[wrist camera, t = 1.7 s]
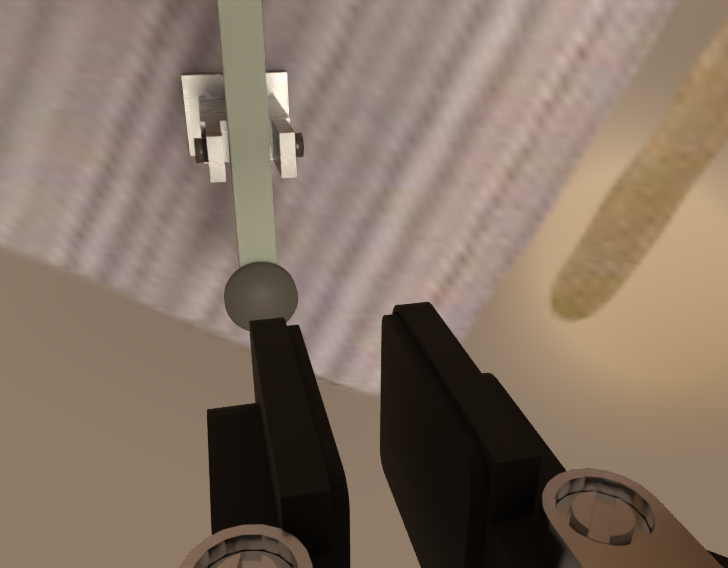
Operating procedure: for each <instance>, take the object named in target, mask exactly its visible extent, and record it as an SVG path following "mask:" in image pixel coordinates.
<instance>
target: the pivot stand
mask: <svg viewBox="0 0 728 568" xmlns="http://www.w3.org/2000/svg"><path fill="white" fill-rule="evenodd" d="M181 77H182V86H183V95H184V104H185V114H186V123H187V132H188V141H189V150H190V156H195V157H196V163H204V164H208V163H209V170H210V180H211V183H214V182H226V173H225V163H226V162H230V151H229V139H228V127H227V115H226V103H225V91H224V79H223V73H198V74H181ZM266 87H267V105H268V122H269V139H270V156H271V160H274V162H275V164H276V166H277V169H278V171H279V173H280V175H281V178H293V177H297V175H296V157H303V154H304V145H303V137H302V133H295V132H294V131H293V129H292V128H291V126H290V117H289V106H288V84H287V72H286V71H266Z"/></svg>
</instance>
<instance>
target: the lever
mask: <svg viewBox="0 0 728 568" xmlns="http://www.w3.org/2000/svg"><path fill="white" fill-rule="evenodd" d="M217 8H218V20H219V32H220V44H221V55H222V67H223V79H224V91H225V103H226V115H227V127H228V139H229V151H230V163H231V175H232V187H233V199H234V210H235V222H236V234H237V246H238V258H239V269H238V270H237V271H235V272H234V273H233V274H232V276H231V277H230V278H229V280H228V282H227V284H226V287H225V292H224V299H225V307H226V311H227V313H228V315H229V317H230V318H231V320H232V321H233V322H234V323H235V324H236V325H238V326H239V327H241V328H243V329H245V330H248V331H250V328H249V321H252V320H261V319H271V318H280V317H284V318H285V321H286V322H287V321H288V320H289V319H290V318H291V317H292V315H293V314H294V312H295V310H296V307H297V303H298V293H297V289H296V286H295V283H294V281H293V279H292V277H291V275H290V274H289V273H288V272H287V271H286V270H285V269H284V268H282V267H281V266H279V265H277V259H276V242H275V225H274V208H273V191H272V173H271V156H270V139H269V122H268V105H267V87H266V70H265V53H264V36H263V19H262V1H261V0H217Z"/></svg>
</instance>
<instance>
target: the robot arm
mask: <svg viewBox="0 0 728 568" xmlns="http://www.w3.org/2000/svg"><path fill="white" fill-rule="evenodd" d="M249 328H250V341H251V354H252V366H253V379H254V390H255V403H253V404H245V405H237V406H230V407H222V408H214V409H207V427H208V450H209V451H208V452H209V476H210V501H211V528H212V536H210V537H208V538H206V539H204V540H203V541H202V542H201V543H200V544H198V545H197V546H196V547H195V548H194V549H192V550H191V551H190V552H189V554H188V555H187V556H186V558H185V559H184V561H183V563H182V564H181V565H180V567H179V568H350V510H349V495H348V488H347V482H346V477H345V473H344V469H343V466H342V462H341V459H340V456H339V453H338V450H337V446H336V443H335V440H334V437H333V433H332V431H331V427H330V424H329V420H328V417H327V414H326V411H325V407H324V404H323V401H322V398H321V395H320V391H319V388H318V385H317V382H316V378H315V375H314V372H313V369H312V365H311V362H310V359H309V356H308V352H307V349H306V346H305V343H304V340H303V336H302V333H301V330H300V327H299V325H290V326H287V325H286V321H285V318H284V317H280V318H271V319H261V320H252V321H249ZM380 414H381V415H380V456H381V463H382V467H383V471H384V474H385V476H386V479H387V481H388V484H389V486H390V489H391V492H392V494H393V497H394V499H395V502H396V505H397V507H398V510H399V512H400V515H401V517H402V520H403V522H404V525H405V528H406V530H407V533H408V535H409V538H410V541H411V543H412V546H413V548H414V551H415V553H416V556H417V559H418V561H419V564H420V566H421V568H728V558H727V557H724V556H722V555H719V554H716V553H714V552H711V551H708V550H706V549H705V548H704V547H703V546H702V545H701V544H700V543H699V542H698V541H697V540H696V539H695V538H694V536H693V535H692V534H691V533H690V532H689V531H688V530H687V529H686V528H685V527H684V526H683V525H682V524H681V523H680V522H679V521H678V520H677V519H676V518H675V517H674V515H673V514H672V513H671V512H670V511H669V510H668V509H667V508H666V507H665V506H664V505H663V504H662V503H661V502H660V501H659V500H658V499H657V498H656V497H655V496H654V495H653V494H652V493H650V492H649V491H648V490H647V489H646V488H644V487H643V486H642V485H640V484H638V483H636V482H635V481H633V480H631V479H629V478H627V477H625V476H622V475H619V474H616V473H612V472H609V471H606V470H599V469H590V468H584V469H572V470H569V471H566V470H565V468H564V467H563V466H562V465H561V463H560V462H559V461H558V459H557V458H556V457H555V455H554V454H553V453H552V451H551V450H550V449H549V447H548V446H547V445H546V443H545V442H544V441H543V439H542V438H541V437H540V435H539V434H538V433H537V431H536V430H535V429H534V427H533V426H532V425H531V423H530V422H529V421H528V419H527V418H526V417H525V415H524V414H523V413H522V411H521V410H520V409H519V407H518V406H517V405H516V403H515V402H514V401H513V399H512V398H511V397H510V395H509V394H508V393H507V391H506V390H505V389H504V387H503V386H502V385H501V384H500V382H499V381H498V380H497V378H496V377H494V376H493V375H492V374H490V373H481V372H480V370H479V369H478V368H477V366H476V365H475V363H474V362H473V361H472V359H471V358H470V357H469V355H468V354H467V353H466V351H465V350H464V348H463V347H462V346H461V344H460V343H459V341H458V340H457V339H456V337H455V336H454V335H453V333H452V332H451V330H450V329H449V328H448V326H447V325H446V324H445V322H444V321H443V319H442V318H441V317H440V315H439V314H438V313H437V311H436V310H435V308H434V307H433V306H432V304H431V303H430V302H422V303H413V304H403V305H395V307H394V308H393V313H392V314H391V315H384V316H383V319H382V340H381V413H380Z"/></svg>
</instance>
